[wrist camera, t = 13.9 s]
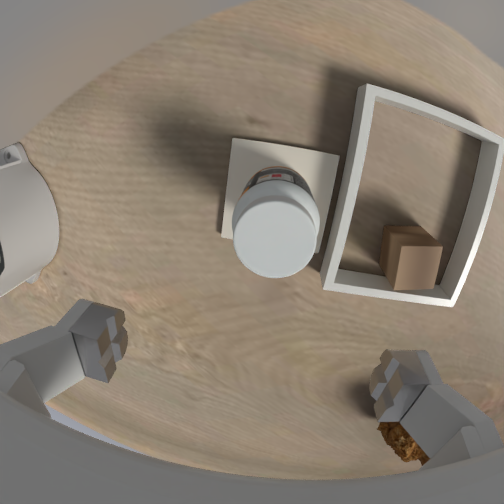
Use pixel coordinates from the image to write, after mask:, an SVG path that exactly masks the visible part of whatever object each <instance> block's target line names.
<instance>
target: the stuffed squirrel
mask: <svg viewBox="0 0 504 504" xmlns="http://www.w3.org/2000/svg"><path fill="white" fill-rule="evenodd" d="M377 430H380V431H381V433H382V436H383V437H384V440H385V441H386V442H387V445H389V446H391V448H393V450H395V454H397V455H398V456H399V457H401V459H402V460H403V461H404V462H409V461H411V460H417V459H419V460H420V461H421V464H422V466H423V465H424V464H425V463H426V462H427V461H428V460H429V459H430V458H429V457H428V456H427V454H426V453H425V452H424V451H423V450H422V449H421V447H420V446H419V445H418V444H417V443H416V441H415V440H414V439H413V438H412V437H411V436H410V434H409V433H408V432H407V431H406V430H405V428H404V427H403V426H402V425H401V424H400V421H399V422H380V424H379V427H378V429H377Z"/></svg>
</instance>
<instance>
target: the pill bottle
mask: <svg viewBox="0 0 504 504" xmlns="http://www.w3.org/2000/svg"><path fill="white" fill-rule="evenodd" d="M319 227H320V215H319V210H318V207H317V205H316V202H315V200H314V198H313V195H312V193H311V190H310V187H309V185H308V184H307V182H306V181H305V179H304V178H303V177H302V176H301V175H300V174H299V173H298V172H296V171H295V170H293V169H291V168H288V167H284V166H270V167H266V168H264V169H262V170H260V171H258V172H257V173H256V174H254V175H253V176H252V177H251V179H250V180H249V181H248V183H247V184H246V186H245V188H244V190H243V192H242V194H241V196H240V198H239V200H238V202H237V204H236V206H235V208H234V211H233V215H232V230H233V243H234V248H235V251H236V254H237V256H238V258H239V259H240V261H241V262H242V263H243V264H244V265H245V266H246V267H247V268H248V269H249V270H251V271H252V272H254V273H256V274H258V275H261V276H264V277H269V278H282V277H287V276H290V275H293V274H295V273H297V272H298V271H300V270H301V269H303V268H304V267H305V266H306V265H307V264H308V262H309V261H310V260H311V258H312V256H313V254H314V251H315V248H316V243H317V235H318V232H319Z"/></svg>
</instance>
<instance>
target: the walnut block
mask: <svg viewBox="0 0 504 504" xmlns="http://www.w3.org/2000/svg"><path fill="white" fill-rule="evenodd" d="M442 249H443V246H442V245H441V244H440V243H439V242H437V241H436V240H435V239H434V238H433V237H432V236H431V235H430V234H429V233H428V232H427V231H425V230H424V229H423V228H422V227H421V226H390V225H384V229H383V238H382V246H381V254H380V261H379V265H380V267H381V268H382V270H383V272H384V274H385V275H386V277H387V279H388V281H389V282H390V284H391V286H392V288H393V290H415V289H434V285H435V281H436V276H437V272H438V268H439V263H440V259H441V254H442Z"/></svg>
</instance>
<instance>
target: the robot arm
mask: <svg viewBox="0 0 504 504" xmlns="http://www.w3.org/2000/svg"><path fill="white" fill-rule="evenodd" d="M58 242H59V221H58V215H57V210H56V206H55V203H54V200H53V197H52V194H51V192H50V190H49V188H48V186H47V184H46V182H45V180H44V179H43V177H42V176H41V175H40V174H39V172H38V171H37V170H36V169H35V168H34V167H33V166H32V165H31V163H30V162H29V160H28V158H27V155H26V153H25V150H24V148H23V146H22V145H21V144H20V143H15V144H13V145H10V146H8V147H5V148H3V149H1V150H0V297H2V296H3V295H5V294H6V293H8V292H9V291H11V290H12V289H14V288H15V287H17V286H18V285H20V284H21V283H23V282H24V281H26V282H28V283H30V284H32V283H34V282H35V281H37V280H38V277H39V275H40V272H41V269H42V268H43V267H45V266H46V265H47V264H49V263H50V262H51V261H52V259H53V258H54V256H55V254H56V251H57V247H58ZM124 322H125V314H124V311H122V310H121V309H118V308H114V307H111V306H107V305H103V304H100V303H97V302H92V301H89V300H85V299H80V300H78V301H77V302H76V303H75V305H74V306H73V307H72V308H71V309H70V310H69V311H68V312H67V313H66V314H65V316H64V317H63V318H62V319H61V320H60V321H59V322H58V323H57V325H56V326H55V327H54V326H48V327H46V328H43V329H40V330H38V331H35V332H33V333H30V334H27V335H25V336H22V337H19V338H17V339H14V340H11V341H9V342H6V343H3V344H1V345H0V504H504V445H503V443H502V440H501V438H500V436H499V433H498V431H497V429H496V427H495V425H494V422H493V420H492V419H491V418H489V417H488V416H487V415H486V414H484V413H483V412H482V411H481V410H479V409H478V408H477V407H476V406H474V405H473V404H472V403H471V402H469V401H468V400H467V399H466V398H464V397H463V396H462V395H461V394H459V393H458V392H457V391H455V390H454V389H453V388H452V387H450V386H449V385H448V384H443V382H442V380H441V377H440V375H439V373H438V371H437V369H436V367H435V365H434V363H433V361H432V359H431V357H430V355H429V353H428V352H427V351H425V350H412V351H411V350H389V349H386V350H385V351H384V352H383V353H382V355H381V357H380V361H381V364H380V365H378V366H377V367H375V368H374V370H373V372H372V374H371V377H370V382H369V390H370V394H371V396H372V397H373V398H374V399H375V400H376V402H375V404H374V410H375V414H376V418H377V422H399V421H400V424H401V425H402V426H403V427H404V428H405V430H406V431H407V432H408V433H409V434H410V436H411V437H412V438H413V439H414V440H415V441H416V443H417V444H418V445H419V446H420V447H421V449H422V450H423V451H424V452H425V453H426V454H427V456H428V457H429V458H430V459H429V460H428V461H427V462H426V463H425V464H424V465H423V466H422V467H421V468H420V469H419V471H413V472H407V473H401V474H394V475H386V476H377V477H367V478H354V479H332V480H300V479H278V478H264V477H254V476H245V475H237V474H230V473H223V472H217V471H211V470H205V469H200V468H195V467H190V466H185V465H181V464H177V463H172V462H168V461H164V460H161V459H157V458H153V457H150V456H146V455H143V454H139V453H136V452H133V451H130V450H127V449H124V448H121V447H118V446H115V445H112V444H109V443H107V442H104V441H101V440H99V439H96V438H93V437H91V436H88V435H86V434H84V433H81V432H79V431H76V430H74V429H72V428H70V427H68V426H65V425H63V424H61V423H59V422H57V421H55V420H53V419H51V416H50V413H49V412H48V410H47V409H46V407H45V405H44V403H45V402H47V401H48V400H50V399H52V398H53V397H55V396H56V395H58V394H60V393H61V392H63V391H64V390H66V389H67V388H69V387H71V386H72V385H74V384H75V383H77V382H79V381H80V380H82V379H83V378H85V376H87V377H90V378H93V379H96V380H99V381H103V382H106V383H109V381H110V379H111V378H112V376H113V374H114V372H115V370H116V364H115V362H117V361H119V360H121V359H122V358H123V356H124V354H125V352H126V348H127V344H128V335H127V331H126V330H125V328H124V327H123V326H122V325H123V324H124Z"/></svg>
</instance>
